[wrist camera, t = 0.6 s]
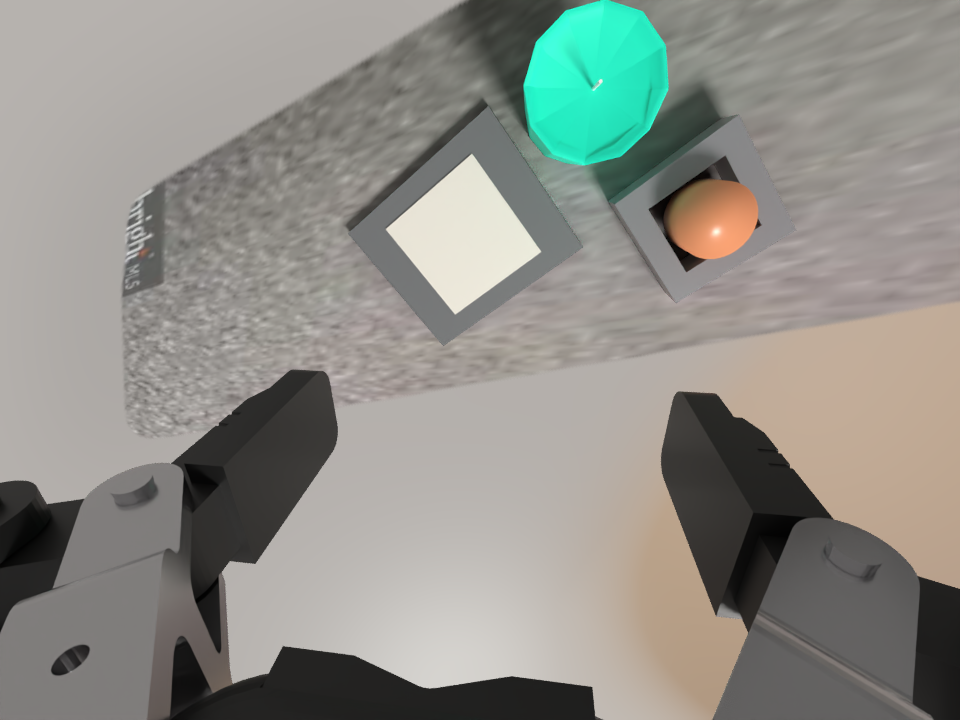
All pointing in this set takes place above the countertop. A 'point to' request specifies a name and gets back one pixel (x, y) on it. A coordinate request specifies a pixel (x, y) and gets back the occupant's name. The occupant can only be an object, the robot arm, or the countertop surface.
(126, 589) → the robot arm
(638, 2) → the countertop surface
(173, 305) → the countertop surface
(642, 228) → the button box
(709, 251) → the button
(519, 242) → the grey flat plate
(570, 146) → the candle
